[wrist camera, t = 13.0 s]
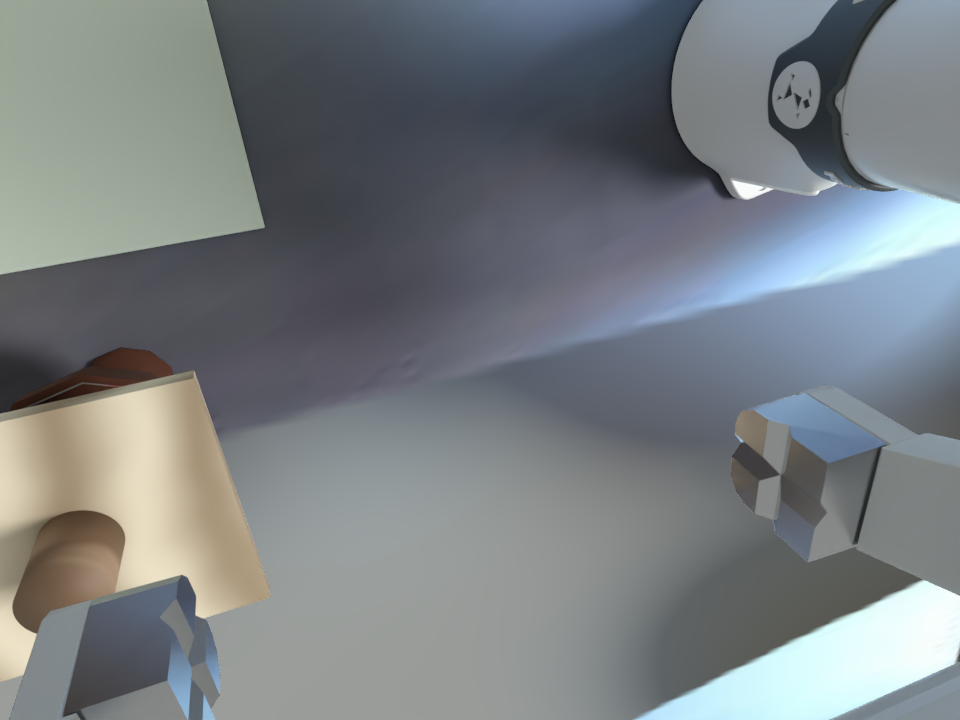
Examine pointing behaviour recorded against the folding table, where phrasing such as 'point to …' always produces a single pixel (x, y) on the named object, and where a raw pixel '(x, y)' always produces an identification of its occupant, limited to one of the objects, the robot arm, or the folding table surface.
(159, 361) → the ice cream bowl
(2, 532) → the lid
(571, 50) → the folding table surface
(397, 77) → the folding table surface
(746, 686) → the folding table surface
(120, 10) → the lid mat
